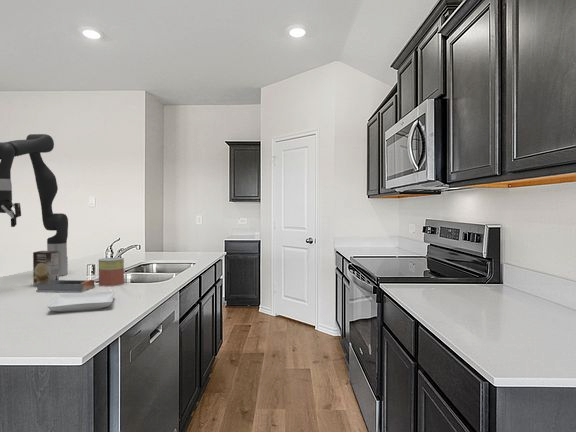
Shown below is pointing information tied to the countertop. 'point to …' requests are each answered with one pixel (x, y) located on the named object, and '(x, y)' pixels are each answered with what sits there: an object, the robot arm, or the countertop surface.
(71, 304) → the salad plate
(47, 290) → the gray orange tray
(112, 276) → the canned food
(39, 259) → the coffee box
